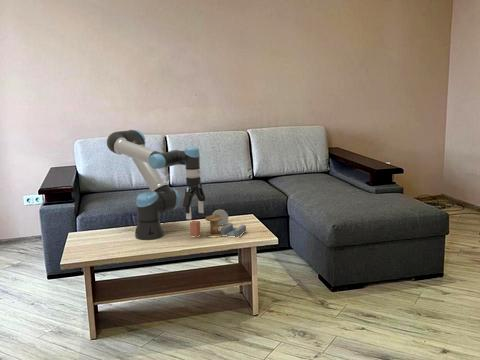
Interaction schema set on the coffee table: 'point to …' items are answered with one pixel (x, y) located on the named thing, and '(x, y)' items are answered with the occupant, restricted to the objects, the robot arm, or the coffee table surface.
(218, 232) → the spool
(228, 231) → the notched board
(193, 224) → the salmon pink block
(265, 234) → the coffee table surface
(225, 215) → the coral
